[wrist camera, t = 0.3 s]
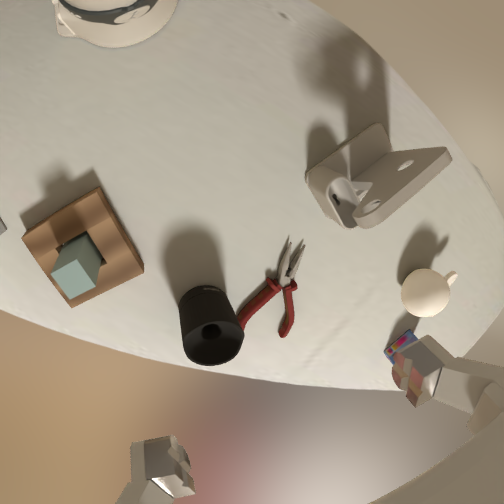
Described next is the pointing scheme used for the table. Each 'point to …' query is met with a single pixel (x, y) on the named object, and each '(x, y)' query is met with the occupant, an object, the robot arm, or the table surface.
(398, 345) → the ink cartridge box
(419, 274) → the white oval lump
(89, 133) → the table surface
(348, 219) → the phone holder
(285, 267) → the pliers
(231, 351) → the pen holder
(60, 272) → the square plug
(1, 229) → the rubber mat
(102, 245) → the plug dock
